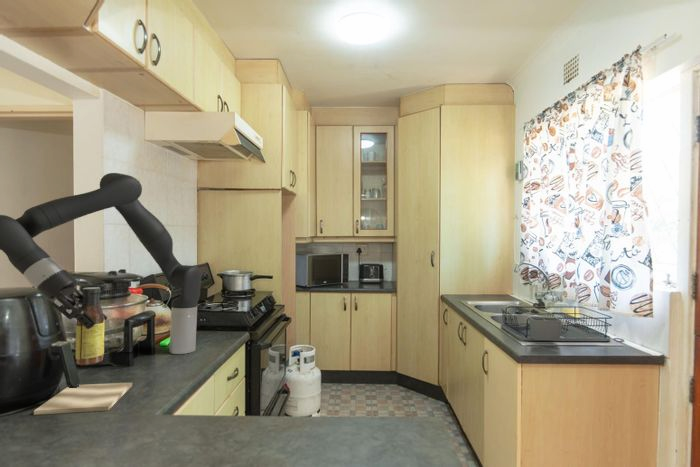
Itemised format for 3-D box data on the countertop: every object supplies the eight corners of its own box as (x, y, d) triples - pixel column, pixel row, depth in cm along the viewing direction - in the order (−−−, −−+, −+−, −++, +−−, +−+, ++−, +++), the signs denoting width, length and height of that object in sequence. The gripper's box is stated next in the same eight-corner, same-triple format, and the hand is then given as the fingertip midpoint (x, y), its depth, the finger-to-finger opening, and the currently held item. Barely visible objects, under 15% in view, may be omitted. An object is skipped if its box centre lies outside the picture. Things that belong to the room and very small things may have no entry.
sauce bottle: (109, 359, 100) (113, 287, 101) (90, 367, 94) (95, 289, 95) (87, 358, 101) (91, 285, 101) (67, 365, 95) (72, 288, 95)
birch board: (69, 388, 103) (69, 385, 103) (132, 386, 107) (132, 382, 107) (33, 414, 88) (34, 410, 88) (108, 410, 91) (108, 406, 91)
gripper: (46, 270, 90) (97, 318, 92) (77, 267, 104) (120, 309, 106) (20, 292, 88) (72, 340, 90) (54, 285, 102) (99, 327, 104)
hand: (98, 323), depth 98 cm, fingers closed on sauce bottle, 6 cm apart
